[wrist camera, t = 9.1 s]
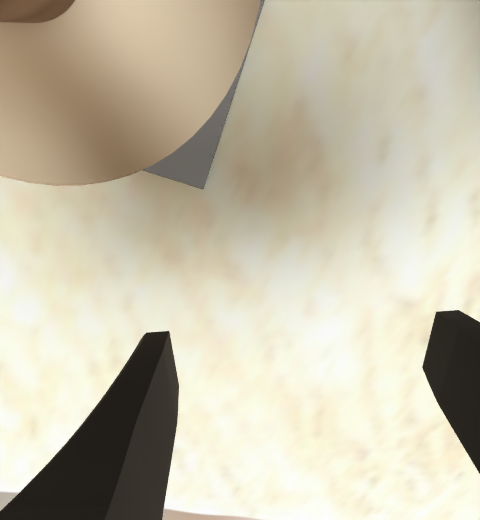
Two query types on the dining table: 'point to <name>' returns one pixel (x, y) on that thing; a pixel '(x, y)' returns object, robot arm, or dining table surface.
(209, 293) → the dining table surface
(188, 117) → the lid
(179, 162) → the mat
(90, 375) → the dining table surface
